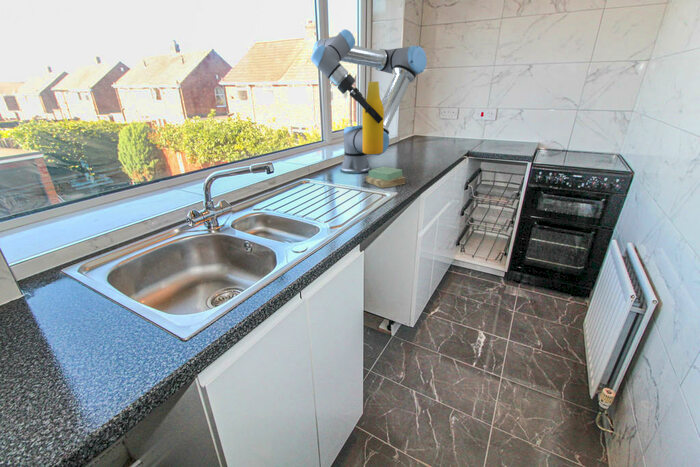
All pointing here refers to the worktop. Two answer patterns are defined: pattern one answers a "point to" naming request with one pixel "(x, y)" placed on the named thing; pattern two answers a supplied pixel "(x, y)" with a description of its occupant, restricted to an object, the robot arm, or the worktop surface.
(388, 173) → the top block
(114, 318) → the worktop surface
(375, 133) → the beer bottle
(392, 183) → the base block
